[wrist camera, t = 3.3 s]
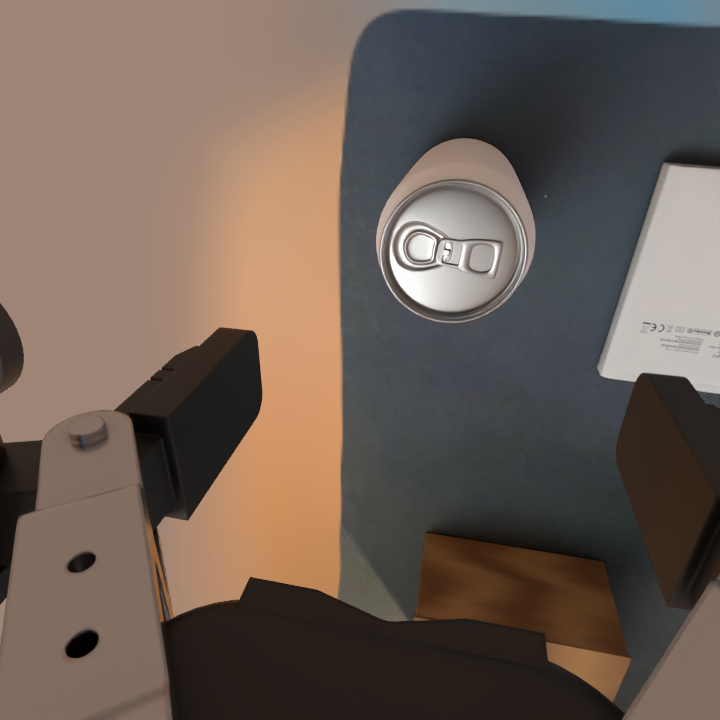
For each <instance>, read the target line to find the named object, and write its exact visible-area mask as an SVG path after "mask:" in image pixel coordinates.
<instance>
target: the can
mask: <svg viewBox="0 0 720 720" xmlns="http://www.w3.org/2000/svg"><path fill="white" fill-rule="evenodd" d="M376 249H377V256H378V261H379V264H380V267H381V270H382V274H383V277H384V279H385V282H386V284H387V286H388V288H389V289H390V291H391V292H392V294H393V295H394V296H395V298H396V299H397V300H398V301H399V302H400V303H401V304H402V305H403V306H405V307H406V308H407V309H408V310H410V311H411V312H413V313H415V314H416V315H418V316H420V317H423V318H425V319H428V320H431V321H435V322H441V323H463V322H469V321H473V320H476V319H479V318H481V317H484V316H486V315H488V314H490V313H492V312H493V311H495V310H496V309H498V308H499V307H500V306H501V305H503V304H504V303H505V302H506V301H507V300H508V299H509V298H510V297H511V296H512V294H513V293H514V292H515V290H516V289H517V287H518V286H519V284H520V283H521V282H522V280H523V279H524V277H525V275H526V273H527V271H528V269H529V267H530V264H531V261H532V258H533V254H534V249H535V224H534V219H533V215H532V211H531V208H530V206H529V203H528V200H527V198H526V196H525V193H524V191H523V188H522V186H521V184H520V182H519V179H518V177H517V175H516V173H515V171H514V169H513V167H512V165H511V164H510V162H509V161H508V159H507V158H506V157H505V156H504V155H503V154H502V153H501V152H500V151H499V150H498V149H496V148H495V147H494V146H492V145H490V144H488V143H486V142H483V141H480V140H476V139H470V138H460V139H453V140H449V141H446V142H443V143H441V144H439V145H437V146H435V147H433V148H432V149H430V150H429V151H428V152H426V153H425V154H424V155H423V156H422V157H421V158H420V159H419V160H418V161H417V163H416V164H415V165H414V166H413V167H412V169H411V170H410V171H409V172H408V174H407V175H406V176H405V177H404V179H403V180H402V181H401V183H400V184H399V185H398V186H397V188H396V189H395V191H394V192H393V193H392V195H391V196H390V198H389V200H388V201H387V203H386V205H385V207H384V209H383V211H382V214H381V217H380V220H379V224H378V229H377V236H376Z"/></svg>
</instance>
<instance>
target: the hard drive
mask: <svg viewBox="0 0 720 720" xmlns="http://www.w3.org/2000/svg"><path fill="white" fill-rule="evenodd" d="M597 369H598V371H599V373H600V375H601V376H603V377H606V378H611V379H618V380H625V381H633V382H636V380H637V378H638V376H639V375H640V374H641V373H654V374H663V375H673V376H682V377H686V378H687V379H688V380H689V381H690V383H691V384H692V385H693V387H694V388H695V390H696V391H702V392H710V393H716V394H720V167H717V166H705V165H693V164H682V163H668V162H664V163H663V164H662V167H661V171H660V174H659V177H658V180H657V183H656V186H655V190H654V192H653V195H652V199H651V202H650V205H649V208H648V211H647V214H646V217H645V221H644V224H643V227H642V230H641V233H640V236H639V239H638V242H637V245H636V249H635V251H634V254H633V258H632V261H631V264H630V267H629V270H628V273H627V276H626V279H625V282H624V285H623V289H622V292H621V295H620V298H619V301H618V304H617V307H616V310H615V314H614V317H613V320H612V323H611V326H610V329H609V332H608V335H607V338H606V342H605V345H604V348H603V351H602V353H601V356H600V359H599V362H598V365H597Z"/></svg>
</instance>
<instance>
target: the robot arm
mask: <svg viewBox="0 0 720 720" xmlns="http://www.w3.org/2000/svg"><path fill="white" fill-rule="evenodd" d="M258 350H259V349H258V340H257V336H256V334H255V332H253V331H250V330H241V329H231V328H219V329H217V330H216V331H215V332H214V333H213V334H212V335H211V336H210V337H209V338H208V339H206V340H205V341H204V342H203V344H201V345H200V346H195V347H192V348H190V349H188V350H186V351H184V352H182V353H180V354H178V355H176V356H174V357H173V358H172V359H171V360H170V361H169V362H168V363H166V364H165V365H164V366H163V367H162V370H159V371H158V372H156V373H155V374H154V375H153V376H152V377H151V380H147V382H145V383H144V384H143V385H142V386H141V387H140V388H138V389H137V390H136V391H135V392H134V393H133V394H132V395H131V396H130V397H129V398H127V399H126V400H125V401H124V402H123V403H122V404H121V405H119V406H118V407H117V408H116V409H115V410H114V411H111V410H99V411H91V412H86V413H82V414H79V415H77V416H73V417H71V418H68V419H66V420H64V421H62V422H61V423H59V424H57V425H56V426H54V427H53V428H52V429H51V430H50V431H49V432H48V433H47V434H46V435H45V437H44V439H43V440H40V441H26V442H12V443H3V441H2V438H1V435H0V604H1V603H2V602H3V601H4V600H5V598H6V597H7V600H6V607H5V615H4V623H3V629H2V637H1V645H0V720H720V409H719V408H717V407H716V406H714V405H710V404H705V402H704V401H703V400H702V398H701V397H700V395H699V394H698V393H697V391H696V390H695V388H694V387H693V385H692V384H691V383H690V381H689V380H688V379H687V378H686V377H682V376H673V375H663V374H654V373H641V374H640V375H639V376H638V378H637V380H636V382H635V385H634V388H633V391H632V394H631V398H630V401H629V404H628V407H627V410H626V414H625V417H624V420H623V423H622V426H621V430H620V433H619V436H618V440H617V447H616V460H617V466H618V470H619V472H620V475H621V478H622V481H623V483H624V486H625V489H626V492H627V495H628V497H629V500H630V503H631V506H632V509H633V511H634V514H635V517H636V520H637V523H638V525H639V528H640V531H641V534H642V536H643V539H644V542H645V545H646V548H647V550H648V553H649V556H650V559H651V562H652V564H653V567H654V570H655V573H656V576H657V578H658V581H659V584H660V587H661V590H662V592H663V595H664V598H665V601H666V603H667V606H669V607H675V608H681V609H686V610H692V611H691V613H690V614H689V616H688V617H687V619H686V620H685V622H684V623H683V625H682V627H681V628H680V630H679V631H678V633H677V634H676V636H675V637H674V639H673V641H672V642H671V644H670V645H669V647H668V648H667V650H666V651H665V653H664V655H663V656H662V658H661V659H660V661H659V662H658V664H657V665H656V667H655V669H654V670H653V672H652V673H651V675H650V676H649V678H648V680H647V681H646V683H645V684H644V686H643V687H642V689H641V690H640V692H639V694H638V695H637V697H636V698H635V700H634V701H633V703H632V704H631V706H630V708H629V709H628V711H627V712H626V714H624V713H623V712H622V711H621V710H620V709H619V708H618V707H617V706H616V705H615V704H614V703H613V702H612V701H610V700H609V699H608V698H607V697H606V696H604V695H603V694H602V693H601V692H600V691H598V690H597V689H596V688H594V687H593V686H591V685H590V684H588V683H587V682H586V681H584V680H583V679H581V678H580V677H578V676H577V675H575V674H573V673H571V672H570V671H568V670H566V669H564V668H563V667H561V666H559V665H557V664H555V663H552V662H550V661H548V656H547V647H546V639H545V633H541V632H536V631H530V630H525V629H520V628H515V627H509V626H504V625H499V624H494V623H488V622H483V621H478V620H473V619H467V618H465V619H443V620H421V621H399V622H391V621H385V620H382V619H379V618H377V617H375V616H373V615H371V614H369V613H366V612H364V611H362V610H360V609H358V608H356V607H353V606H351V605H349V604H347V603H345V602H342V601H340V600H338V599H336V598H334V597H331V596H329V595H327V594H325V593H323V592H321V591H318V590H315V589H309V588H305V587H300V586H294V585H289V584H284V583H279V582H273V581H268V580H263V579H258V578H252V577H250V578H249V581H248V583H247V585H246V587H245V589H244V591H243V594H242V596H241V598H240V600H230V601H224V602H218V603H213V604H209V605H206V606H202V607H199V608H195V609H193V610H190V611H188V612H185V613H182V614H180V615H178V616H176V617H174V615H173V610H172V604H171V599H170V593H169V588H168V582H167V576H166V571H165V565H164V560H163V554H162V548H161V543H160V537H159V533H158V529H157V526H158V524H159V523H160V522H161V520H162V519H163V518H164V517H171V518H177V519H182V520H189V518H190V517H191V515H192V514H193V512H194V511H195V509H196V508H197V506H198V505H199V503H200V502H201V500H202V499H203V497H204V495H205V494H206V493H207V491H208V490H209V488H210V487H211V485H212V484H213V482H214V481H215V479H216V478H217V476H218V475H219V473H220V472H221V470H222V469H223V467H224V466H225V464H226V463H227V461H228V460H229V458H230V457H231V455H232V454H233V452H234V451H235V449H236V448H237V446H238V445H239V443H240V442H241V440H242V439H243V437H244V436H245V434H246V433H247V431H248V430H249V428H250V427H251V425H252V424H253V422H254V421H255V419H256V418H257V416H258V414H259V411H260V407H261V402H262V383H261V373H260V361H259V351H258Z"/></svg>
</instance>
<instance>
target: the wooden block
mask: <svg viewBox="0 0 720 720" xmlns="http://www.w3.org/2000/svg"><path fill="white" fill-rule="evenodd" d="M465 618H467V619H473V620H478V621H483V622H488V623H494V624H499V625H504V626H509V627H515V628H520V629H525V630H530V631H536V632H541V633H545V639H546V647H547V656H548V661H550V662H552V663H555V664H557V665H559V666H561V667H563V668H564V669H566V670H568V671H570V672H571V673H573V674H575V675H577V676H578V677H580V678H581V679H583V680H584V681H586V682H587V683H588V684H590V685H591V686H593V687H594V688H596V689H597V690H598V691H600V692H601V693H602V694H603V695H604V696H606V697H607V698H608V699H609V700H610V701H612V702H613V700H614V698H615V696H616V694H617V691H618V689H619V687H620V684H621V682H622V680H623V678H624V675H625V673H626V671H627V668H628V666H629V664H630V662H631V659H632V657H631V656H630V655H628V652H627V648H626V644H625V641H624V637H623V633H622V629H621V626H620V622H619V618H618V614H617V610H616V607H615V603H614V599H613V595H612V591H611V588H610V584H609V580H608V576H607V572H606V569H605V565H604V562H603V561H598V560H592V559H585V558H579V557H573V556H567V555H561V554H555V553H548V552H542V551H536V550H530V549H524V548H518V547H512V546H505V545H499V544H493V543H487V542H481V541H475V540H468V539H462V538H456V537H450V536H444V535H438V534H432V533H425V540H424V549H423V557H422V566H421V574H420V583H419V592H418V600H417V609H416V615H414V621H421V620H443V619H465Z"/></svg>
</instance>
